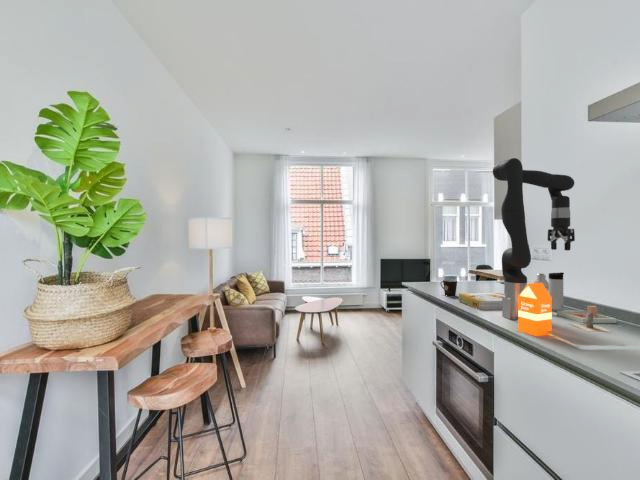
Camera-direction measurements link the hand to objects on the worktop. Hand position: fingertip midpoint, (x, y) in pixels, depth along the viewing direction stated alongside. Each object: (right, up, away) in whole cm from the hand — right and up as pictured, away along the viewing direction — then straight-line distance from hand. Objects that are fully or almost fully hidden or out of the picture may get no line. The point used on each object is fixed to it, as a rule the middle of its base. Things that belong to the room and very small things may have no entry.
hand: (560, 250), depth 152 cm
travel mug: (+4, -32, +8) cm, 34 cm away
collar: (+2, -31, -12) cm, 34 cm away
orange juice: (-32, -33, -28) cm, 53 cm away
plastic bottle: (-8, -32, +2) cm, 33 cm away
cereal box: (-22, -33, +23) cm, 45 cm away
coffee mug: (-34, -32, +51) cm, 69 cm away
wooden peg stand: (-8, -32, -26) cm, 42 cm away
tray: (+2, -32, -12) cm, 34 cm away
